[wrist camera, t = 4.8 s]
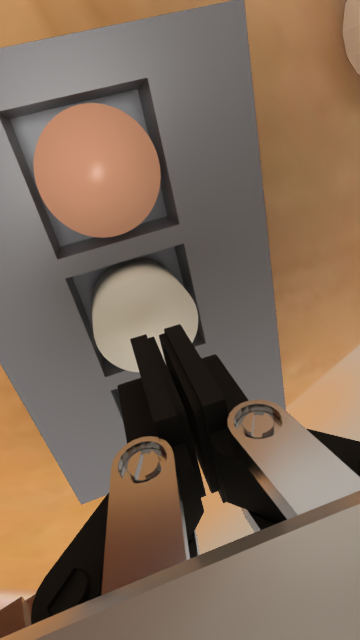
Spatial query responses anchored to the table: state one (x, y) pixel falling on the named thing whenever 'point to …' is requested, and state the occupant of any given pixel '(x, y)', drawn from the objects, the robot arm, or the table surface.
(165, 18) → the console
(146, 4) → the table surface
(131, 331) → the cream button
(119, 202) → the terracotta button
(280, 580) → the robot arm
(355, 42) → the light grey cup
